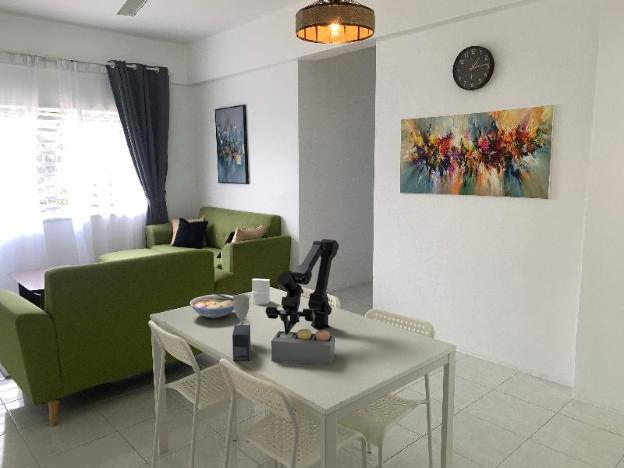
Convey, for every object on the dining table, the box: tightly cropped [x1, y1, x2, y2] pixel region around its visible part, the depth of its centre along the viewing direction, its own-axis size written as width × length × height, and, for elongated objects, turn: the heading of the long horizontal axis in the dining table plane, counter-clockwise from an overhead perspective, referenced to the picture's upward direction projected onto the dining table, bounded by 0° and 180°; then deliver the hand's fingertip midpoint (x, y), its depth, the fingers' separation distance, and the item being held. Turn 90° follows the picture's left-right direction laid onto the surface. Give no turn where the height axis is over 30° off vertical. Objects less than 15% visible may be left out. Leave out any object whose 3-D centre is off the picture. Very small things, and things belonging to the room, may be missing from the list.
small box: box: [231, 324, 252, 362], centre depth 181 cm, size 11×6×10 cm, turn 5°
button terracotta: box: [315, 329, 331, 342], centre depth 179 cm, size 5×5×3 cm
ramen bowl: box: [189, 292, 235, 319], centre depth 227 cm, size 25×23×8 cm
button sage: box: [280, 333, 293, 339], centre depth 183 cm, size 5×5×3 cm
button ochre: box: [297, 328, 312, 340], centre depth 181 cm, size 5×5×3 cm
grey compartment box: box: [270, 330, 336, 366], centre depth 180 cm, size 11×22×8 cm, turn 78°
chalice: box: [232, 293, 251, 325], centre depth 197 cm, size 7×7×18 cm
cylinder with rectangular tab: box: [251, 278, 271, 306], centre depth 250 cm, size 9×9×12 cm
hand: (286, 333), depth 182 cm, fingers closed
